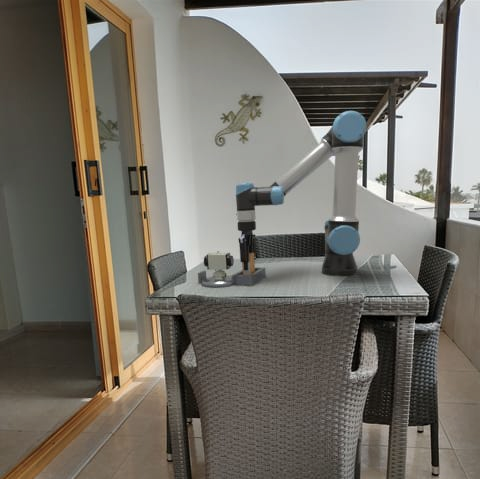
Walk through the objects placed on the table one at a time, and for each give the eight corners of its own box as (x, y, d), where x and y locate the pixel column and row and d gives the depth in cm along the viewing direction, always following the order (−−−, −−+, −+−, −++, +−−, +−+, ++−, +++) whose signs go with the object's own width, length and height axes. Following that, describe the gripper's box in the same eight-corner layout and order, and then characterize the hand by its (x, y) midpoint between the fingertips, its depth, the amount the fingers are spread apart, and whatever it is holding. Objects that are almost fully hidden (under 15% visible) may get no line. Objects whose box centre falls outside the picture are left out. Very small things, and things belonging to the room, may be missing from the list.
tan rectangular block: (246, 275, 152) (245, 252, 151) (255, 276, 151) (254, 252, 149) (242, 277, 148) (241, 254, 147) (251, 278, 147) (250, 254, 146)
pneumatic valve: (231, 280, 145) (230, 251, 143) (204, 280, 148) (202, 252, 146) (235, 277, 150) (233, 249, 149) (209, 277, 153) (207, 250, 152)
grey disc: (246, 279, 152) (245, 269, 151) (231, 288, 138) (231, 277, 138) (209, 278, 159) (208, 268, 158) (192, 286, 145) (191, 275, 145)
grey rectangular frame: (265, 276, 156) (265, 267, 155) (251, 286, 140) (251, 276, 140) (247, 275, 159) (247, 267, 159) (232, 285, 144) (231, 275, 143)
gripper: (245, 219, 156) (248, 271, 159) (229, 222, 140) (232, 280, 143) (261, 219, 153) (264, 272, 156) (247, 222, 137) (250, 281, 140)
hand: (249, 276), depth 149 cm, fingers closed on tan rectangular block, 4 cm apart
